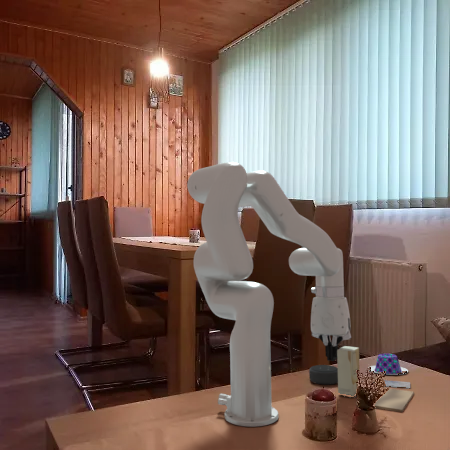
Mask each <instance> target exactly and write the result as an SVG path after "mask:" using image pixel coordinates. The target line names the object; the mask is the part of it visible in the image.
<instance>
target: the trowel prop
mask: <svg viewBox="0 0 450 450" xmlns="http://www.w3.org/2000/svg"><path fill="white" fill-rule="evenodd" d="M373 377H374V378H376V377H377V376H373ZM383 380H384V379H383ZM384 381H385V384H386V387H385V388H397V387H406V388H405V389H409V388H410V389H411V382H410V381H399V380H386V379H385V380H384ZM389 386H391V387H389Z"/></svg>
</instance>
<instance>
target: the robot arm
mask: <svg viewBox="0 0 450 450" xmlns="http://www.w3.org/2000/svg"><path fill="white" fill-rule="evenodd" d="M186 187H187V191H188V194H189V195H190V197H191V198H192V199H193V200H194V201H196V202H198V203H199V204H203V208H202V211H201V212H202V213H201V221H200V222H201V229H202V232H203V234H204V235H203V236H204V238H205V241H206V242H204V243H202V244H201V245H200V246H198V247H197V248H196V250H195V252H194V255H193V269H194V273H195V275H196V279H197V282H198V284H199V286H200V288H201V291H202V293H203V295H204V298H205V301H206V303H207V305H208V307H209V309H210V310H211V312H212V313H213V314H214V315H215V316H217V317H219V318H222V319H226V320H232V321H235V323H234V325H233V329H232V331H231V334H230V339H229V352H230V353H229V354H230V355H229V357H230V358H229V359H230V360H229V361H230V365H229V367H230V369H229V370H230V395H229V394H225V393H219V394H218V399H217V404H218V405H220V406H226V409H225V411H224V419H225V421H226V422H228V423H230V424H233V425H235V426H240V427H248V428H249V427H263V426H268V425H270V424H273V423H275V422H277V421H278V419H279V411H278V410H277V409H276V408H275V407H273V406H272V405H273V403H272V371H271V370H272V364H271V363H272V362H271V359H272V358H271V328H272V327H271V326H272V318H273V312H274V304H275V302H274V301H275V300H274V296H273V293H272V291H271V290H270V289H269V288H268V287H267V286H266V285H264V284H263V283H259V282H255V281H247V280H245V279H248V278H249V277H250V276H251V274H253V269H254V260H253V257H252V255H251V252H250V249H249V245H248V244H247V241H246V238H245V236H244V232H243V230H242V227H241V223H240V221H239V220H240V219H239V208H244V207H252V208H253V210H254V211H255V213H256V215H258V217H259V219H260V220H261V221H262V222H263V224H264V226H265V227H266V228H267V230H268V231H269V232H270V234H272V235H274V236H276V237H278V238H281V239H283V240H286V241H289V242H291V243H295V244H297V245H299V246H301V248H297V249H295V250H294V251H292V252H291V254H290V256H289V257H288V265H289V268H290V269H291V271H292V272H293V273H294V274H297V275H298V276H309V277H310V276H311V277H315V286H314V287H311V289H310V291H311V293H312V294H315V297H313V298H312V302H311V303H312V304H311V311H310V312H311V313H310V331H311V336H312V337H314V338H317V339H319V340H320V341H321V342H322V343H323V345H324V347H325V351H324V352H325V357H326V360H327V361H328V362H329V361H331V362H334V361H335V360H337V350H338V349H339V344H340V343H341V342H343V341H346V340H348V341H349V340H351V338H352V334H351V317H350V310H349V309H350V308H349V303H348V299H347V297H345V286H344V285H345V284H344V256H343V250H342V249H340V248H339V247H337V246H336V244H335V242H334V241H333V240H332V239H331V237H330V236H329V234H328V233H327V232H326V231H325V230H323V229H322V228H321V227H320V226H319V225H317V224H316V223H314V222H313V221H311V220H310V219H308V218H306V217H304V216H303V215H301V214H299V212H298V211H297V210H296V209H295V207H294V205H293V203H292V202H291V201H290V199H289V198H288V197H287V195H286V194H285V192H284V191H283V189H282V187H281V186H280V184H279V183H278V181H277V180H276V178H275V177H274V175H272V174H271V173H270V172H268V171H265V170H255V171H249V172H247V171H246V169H245V168H244V166H243V165H242V164H240V163H238V162H234V161H230V162H229V161H228V162H221V163H217V164H214V165H210V166H207V167H202V168H198V169H196V170H195V171H193V172H192V173H191V174H190V176H189V177H188V179H187V186H186ZM331 336H332V340H331Z"/></svg>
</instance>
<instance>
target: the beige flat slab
mask: <svg viewBox="0 0 450 450" xmlns="http://www.w3.org/2000/svg"><path fill="white" fill-rule="evenodd" d="M388 388H389V390H388V391H387V392H386V393H385V394H384V395H383V396H382V397H381V398H380V399H379V400H378V401H377V402H376V404H375V407H376V408H375V409H378V408H379V410H384V409H385V411H392V412H398V413H403V412H404V410H406V407H407V406H408V404H409V402H410V401H411V399H413V398H412V397H413V396H414V395H415V392H414V391H413V390H411V391H410V390H405V389H404V390H403V389H396V388H391V387H388ZM356 404H357V401H356V402H355V405H356Z"/></svg>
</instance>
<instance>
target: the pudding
mask: <svg viewBox="0 0 450 450" xmlns="http://www.w3.org/2000/svg"><path fill="white" fill-rule="evenodd" d="M369 367H371V371H370V372H372V371H374V372H373V373H375V374H378V373H379V372H383V371H386V375H388V376H389V375H390V376H393V375H394V376H396V375H397V376H399V375H398V374H397V373H399V372H401V373H402V371H407V373H408V372H409V370H408V369H407V368H405V367H402V366H401V364H400V360H399V358H398V356H397V355H396V354H393V353H380V354H378V355H377V358H376V364H375V365H371V366H369ZM378 371H379V372H378ZM402 375H405V374H404V373H403V374H402Z"/></svg>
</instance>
